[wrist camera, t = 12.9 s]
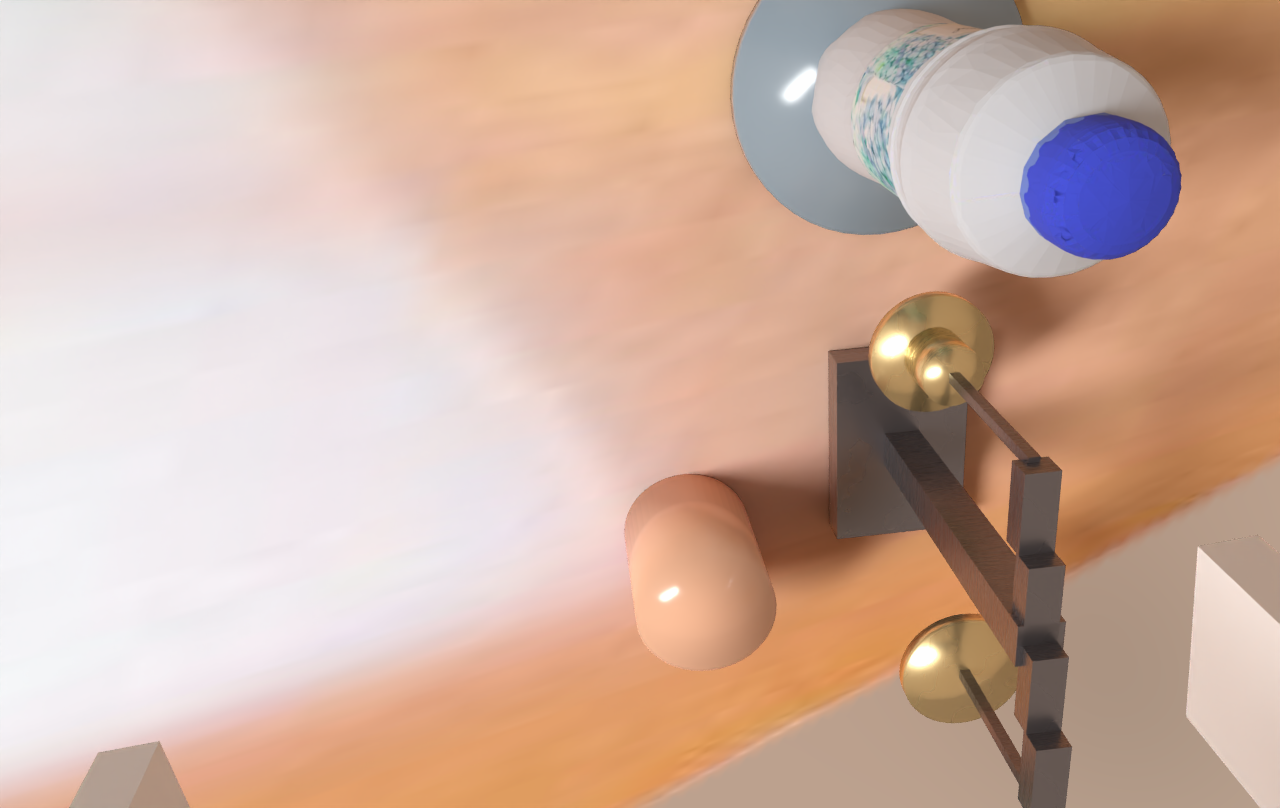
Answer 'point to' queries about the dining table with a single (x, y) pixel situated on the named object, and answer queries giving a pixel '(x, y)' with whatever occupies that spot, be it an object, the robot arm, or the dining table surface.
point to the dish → (782, 106)
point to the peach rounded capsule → (697, 574)
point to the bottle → (1001, 138)
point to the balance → (957, 528)
